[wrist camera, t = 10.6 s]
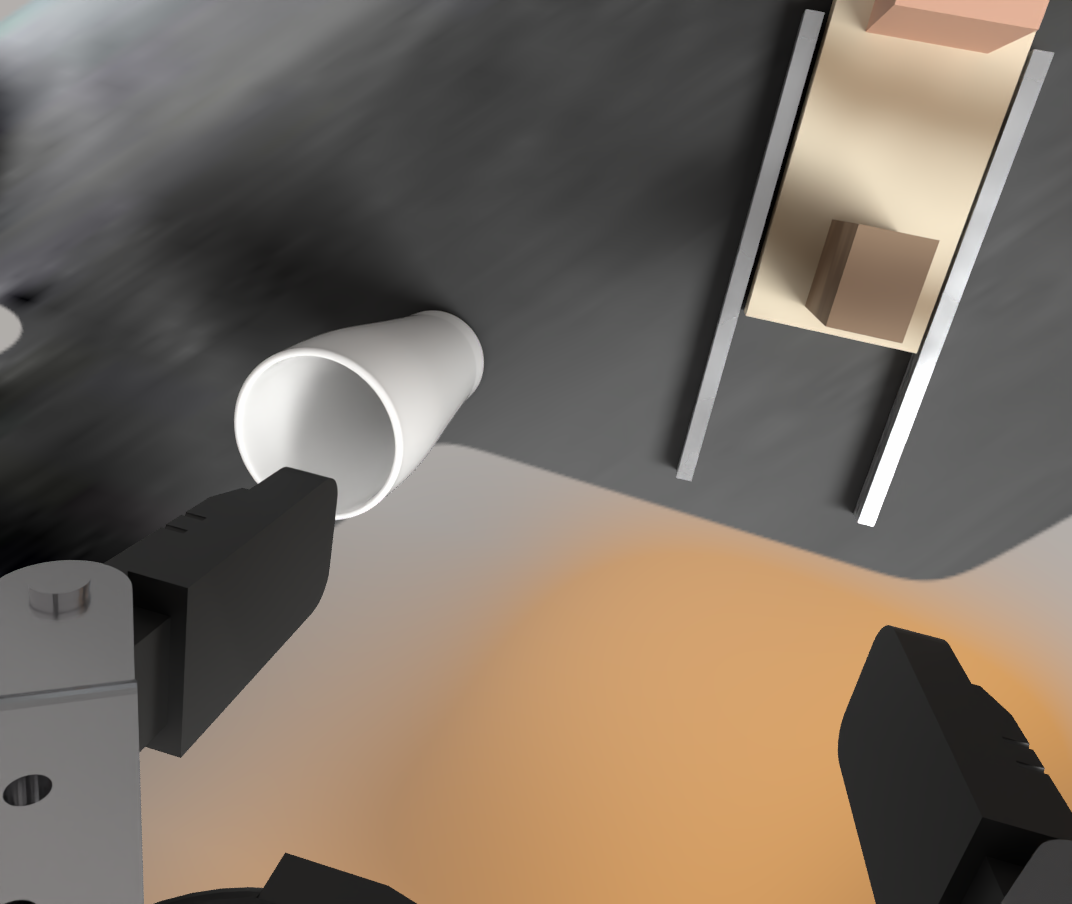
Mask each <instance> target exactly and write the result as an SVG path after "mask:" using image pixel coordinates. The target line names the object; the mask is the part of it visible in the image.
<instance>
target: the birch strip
mask: <svg viewBox="0 0 1072 904" xmlns="http://www.w3.org/2000/svg"><path fill="white" fill-rule="evenodd" d="M874 2H875V0H833V2H832V6H831V9H830V13H829V16H828V20H827V23H826V27H825V30H824V34H823V37H822V41H821V44H820V48H819V51H818V55H817V58H816V62H815V65H814V68H813V72H812V75H811V79H810V82H809V86H808V89H807V93H806V96H805V100H804V103H803V107H802V110H801V114H800V117H799V121H798V124H797V128H796V131H795V135H794V138H793V142H792V145H791V149H790V152H789V156H788V159H787V163H786V166H785V170H784V173H783V177H782V180H781V184H780V187H779V191H778V194H777V198H776V201H775V205H774V208H773V212H772V215H771V219H770V222H769V225H768V229H767V232H766V236H765V239H764V243H763V246H762V250H761V253H760V257H759V260H758V264H757V267H756V271H755V274H754V278H753V281H752V285H751V288H750V292H749V295H748V299H747V302H746V306H745V309H744V312H745V315H746V316H750V317H755V318H759V319H764V320H768V321H773V322H777V323H782V324H786V325H791V326H795V327H800V328H804V329H809V330H813V331H818V332H822V333H827V334H831V335H836V336H840V337H845V338H849V339H854V340H858V341H863V342H867V343H872V344H876V345H881V346H885V347H890V348H894V349H899V350H903V351H908V352H912V353H917V351H918V348H919V346H920V343H921V340H922V338H923V335H924V332H925V330H926V327H927V324H928V321H929V319H930V316H931V313H932V311H933V308H934V305H935V303H936V300H937V297H938V295H939V292H940V289H941V286H942V284H943V281H944V278H945V276H946V273H947V270H948V268H949V265H950V262H951V260H952V257H953V254H954V251H955V249H956V246H957V243H958V241H959V238H960V235H961V233H962V230H963V227H964V224H965V222H966V219H967V216H968V214H969V211H970V208H971V206H972V203H973V200H974V198H975V195H976V192H977V189H978V187H979V184H980V181H981V179H982V176H983V173H984V171H985V168H986V165H987V163H988V160H989V157H990V154H991V152H992V149H993V146H994V144H995V141H996V138H997V136H998V133H999V130H1000V127H1001V125H1002V122H1003V119H1004V117H1005V114H1006V111H1007V109H1008V106H1009V103H1010V101H1011V98H1012V95H1013V92H1014V90H1015V87H1016V84H1017V82H1018V79H1019V76H1020V74H1021V71H1022V68H1023V66H1024V63H1025V60H1026V57H1027V55H1028V52H1029V49H1030V47H1031V44H1032V41H1033V39H1034V36H1035V33H1036V31H1035V32H1032V33H1030V34H1028V35H1026V36H1024V37H1022V38H1020V39H1018V40H1016V41H1014V42H1011V43H1009V44H1007V45H1005V46H1003V47H1001V48H999V49H997V50H995V51H993V52H990V53H988V54H986V53H981V52H975V51H970V50H964V49H958V48H953V47H947V46H941V45H936V44H930V43H925V42H919V41H913V40H908V39H902V38H896V37H891V36H885V35H880V34H874V33H868V32H866V28H867V25H868V22H869V18H870V15H871V12H872V9H873V5H874Z"/></svg>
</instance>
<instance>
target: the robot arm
mask: <svg viewBox="0 0 1072 904" xmlns="http://www.w3.org/2000/svg"><path fill="white" fill-rule="evenodd" d="M337 497H338V489H337V484H336V481H335V480H334V479H333V478H329V477H325V476H321V475H317V474H314V473H310V472H306V471H302V470H298V469H294V468H291V467H283V468H281V469H279V470H278V471H276V472H275V473H273V474H272V475H270V476H269V477H267V478H266V479H264V480H263V481H261V482H260V483H258V484H257V485H255V486H254V487H252V488H251V489H245V488H241V489H237V490H234V491H230V492H226V493H223V494H219V495H216V496H212V497H209V498H207V499H206V500H204V501H203V502H201V503H200V504H198V505H196V506H195V507H193V508H192V509H190V510H188V511H187V512H186V514H185V516H183V515H180V516H179V517H177V518H176V519H174V520H172V521H171V522H169V523H168V524H166V527H165V528H160V529H158V530H156V531H155V532H153V533H152V534H150V535H149V536H147V537H145V538H144V539H142V540H141V541H139V542H137V543H136V544H134V545H133V546H131V547H129V548H128V549H126V550H125V551H123V552H121V553H120V554H118V555H117V556H115V557H113V558H112V559H110V560H109V561H107V562H105V563H104V564H101V563H97V562H90V561H78V560H67V561H53V562H46V563H40V564H36V565H32V566H28V567H25V568H22V569H19V570H16V571H14V572H11V573H9V574H7V575H5V576H3V577H2V578H0V904H144V895H143V894H144V893H143V861H142V826H141V793H140V761H139V752H140V751H141V750H142V749H143V748H144V747H148V748H151V749H155V750H158V751H161V752H164V753H167V754H170V755H174V756H177V757H180V758H181V757H182V756H183V755H184V754H185V752H186V751H187V750H188V749H189V748H190V747H191V746H192V745H193V744H194V743H195V742H196V740H197V739H198V738H199V737H200V736H201V735H202V734H203V733H204V732H205V730H206V729H207V728H208V727H209V726H210V725H211V724H212V723H213V722H214V721H215V719H216V718H217V717H218V716H219V715H220V714H221V713H222V712H223V711H224V709H225V708H226V707H227V706H228V705H229V704H230V703H231V702H232V700H234V698H235V697H236V696H237V695H238V694H239V693H240V692H241V691H242V690H243V689H244V687H245V686H246V685H247V684H248V683H249V682H250V681H251V680H252V679H253V678H254V676H255V675H256V674H257V673H258V672H259V671H260V670H261V668H262V667H263V666H264V665H265V664H266V663H267V662H268V661H269V660H270V659H271V658H272V656H273V655H274V654H275V653H276V652H277V651H278V650H279V649H280V648H281V647H282V646H283V644H284V643H285V642H286V641H287V640H288V639H289V638H290V637H291V636H292V634H293V633H294V632H295V631H296V630H297V629H298V628H299V627H300V626H301V625H302V623H303V622H304V621H305V620H306V619H307V618H308V617H309V616H310V615H311V614H312V612H313V611H314V609H315V608H316V607H317V605H318V603H319V601H320V599H321V597H322V595H323V592H324V589H325V586H326V583H327V580H328V575H329V567H330V559H331V550H332V540H333V532H334V524H335V515H336V507H337ZM838 758H839V764H840V768H841V772H842V776H843V779H844V784H845V787H846V791H847V795H848V799H849V802H850V806H851V810H852V814H853V818H854V822H855V825H856V829H857V833H858V837H859V841H860V845H861V849H862V852H863V856H864V860H865V864H866V868H867V871H868V875H869V879H870V883H871V887H872V891H873V894H874V898H875V902H876V904H1072V812H1071V810H1070V809H1069V807H1068V806H1067V804H1066V802H1065V801H1064V799H1063V798H1062V796H1061V794H1060V793H1059V791H1058V789H1057V788H1056V786H1055V785H1054V783H1053V781H1052V780H1051V778H1050V776H1049V775H1047V774H1044V767H1043V765H1042V763H1041V762H1040V760H1039V759H1038V757H1037V755H1036V754H1035V752H1034V751H1033V750H1031V749H1029V743H1028V741H1027V739H1026V738H1025V736H1024V734H1023V733H1022V731H1021V730H1020V728H1019V727H1018V725H1017V723H1016V721H1015V720H1014V718H1013V717H1012V715H1011V714H1010V713H1009V712H1008V711H1007V710H1006V709H1004V708H1003V707H1002V706H1001V705H1000V704H999V703H998V702H997V701H996V700H995V699H994V698H993V697H991V696H990V695H989V694H988V693H987V692H986V691H985V690H984V689H983V688H982V687H981V686H977V685H974V684H971V682H970V680H969V679H968V677H967V675H966V673H965V672H964V670H963V668H962V666H961V665H960V663H959V661H958V659H957V658H956V656H955V654H954V653H953V651H952V649H951V647H950V646H949V644H948V643H947V642H946V641H945V640H943V639H939V638H935V637H932V636H928V635H924V634H920V633H916V632H912V631H909V630H905V629H901V628H897V627H893V626H889V625H887V626H885V627H883V628H882V629H881V630H880V632H879V633H878V634H877V636H876V638H875V640H874V642H873V645H872V647H871V650H870V652H869V655H868V657H867V660H866V662H865V664H864V667H863V669H862V672H861V674H860V677H859V679H858V682H857V684H856V687H855V689H854V692H853V694H852V696H851V699H850V701H849V704H848V706H847V709H846V712H845V714H844V717H843V720H842V723H841V727H840V733H839V740H838ZM155 904H416V903H415V902H413V901H412V900H410V899H408V898H407V897H405V896H404V895H402V894H400V893H399V892H397V891H395V890H394V889H392V888H391V887H389V886H387V885H384V884H381V883H377V882H375V881H371V880H368V879H365V878H362V877H359V876H356V875H353V874H350V873H347V872H343V871H340V870H337V869H334V868H331V867H328V866H325V865H322V864H319V863H316V862H312V861H309V860H306V859H303V858H300V857H297V856H294V855H290V854H288V853H285V854H284V856H283V857H282V859H281V860H280V862H279V864H278V865H277V867H276V869H275V870H274V872H273V873H272V875H271V877H270V878H269V880H268V881H267V883H266V885H265V886H264V888H253V887H247V888H225V889H216V890H209V891H203V892H196V893H190V894H187V895H183V896H179V897H175V898H171V899H167V900H164V901H160V902H157V903H155Z"/></svg>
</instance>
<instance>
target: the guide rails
mask: <svg viewBox="0 0 1072 904" xmlns="http://www.w3.org/2000/svg"><path fill="white" fill-rule="evenodd" d="M824 13H825V12H820V11H814V10H809V9H806V10H805V11H804V13H803V15H802V18H801V21H800V25H799V28H798V32H797V36H796V39H795V43H794V47H793V50H792V54H791V57H790V61H789V65H788V68H787V72H786V76H785V79H784V83H783V86H782V90H781V94H780V97H779V101H778V105H777V108H776V112H775V115H774V119H773V123H772V126H771V130H770V134H769V137H768V141H767V144H766V148H765V152H764V155H763V159H762V163H761V166H760V170H759V173H758V177H757V181H756V184H755V188H754V191H753V195H752V199H751V202H750V206H749V210H748V213H747V217H746V220H745V224H744V228H743V231H742V235H741V239H740V242H739V246H738V249H737V253H736V257H735V260H734V264H733V268H732V271H731V275H730V278H729V282H728V286H727V289H726V293H725V297H724V300H723V304H722V307H721V311H720V315H719V318H718V322H717V326H716V329H715V333H714V336H713V340H712V344H711V347H710V351H709V354H708V358H707V362H706V365H705V369H704V373H703V376H702V380H701V383H700V387H699V391H698V394H697V398H696V402H695V405H694V409H693V412H692V416H691V420H690V423H689V427H688V431H687V434H686V438H685V441H684V445H683V449H682V452H681V456H680V460H679V463H678V467H677V472H676V478H679V479H683V480H687V481H692V477H693V474H694V470H695V467H696V463H697V460H698V456H699V452H700V449H701V445H702V442H703V438H704V435H705V431H706V428H707V424H708V421H709V417H710V414H711V410H712V407H713V403H714V400H715V396H716V393H717V389H718V386H719V382H720V379H721V375H722V372H723V368H724V365H725V361H726V358H727V354H728V351H729V347H730V344H731V340H732V337H733V333H734V330H735V326H736V323H737V319H738V316H739V312H740V308H741V305H742V301H743V298H744V294H745V291H746V287H747V284H748V280H749V277H750V273H751V270H752V266H753V263H754V259H755V256H756V252H757V249H758V245H759V242H760V238H761V235H762V231H763V228H764V224H765V221H766V217H767V214H768V210H769V207H770V203H771V200H772V196H773V193H774V189H775V186H776V182H777V179H778V175H779V172H780V168H781V164H782V161H783V157H784V154H785V150H786V147H787V143H788V140H789V136H790V133H791V129H792V126H793V122H794V119H795V115H796V112H797V108H798V105H799V101H800V98H801V94H802V91H803V87H804V84H805V80H806V77H807V73H808V70H809V66H810V63H811V59H812V56H813V52H814V49H815V45H816V42H817V38H818V35H819V31H820V28H821V24H822V21H823V17H824ZM1053 55H1054V53H1053V52H1047V51H1041V50H1036V49H1034V50H1031V51H1029V52H1028V55H1027V57H1026V60H1025V63H1024V66H1023V68H1022V71H1021V74H1020V76H1019V79H1018V82H1017V84H1016V87H1015V90H1014V92H1013V95H1012V98H1011V101H1010V103H1009V106H1008V109H1007V111H1006V114H1005V117H1004V119H1003V122H1002V125H1001V127H1000V130H999V133H998V136H997V138H996V141H995V144H994V146H993V149H992V152H991V154H990V157H989V160H988V163H987V165H986V168H985V171H984V173H983V176H982V179H981V181H980V184H979V187H978V189H977V192H976V195H975V198H974V200H973V203H972V206H971V208H970V211H969V214H968V216H967V219H966V222H965V224H964V227H963V230H962V233H961V235H960V238H959V241H958V243H957V246H956V249H955V251H954V254H953V257H952V260H951V262H950V265H949V268H948V270H947V273H946V276H945V278H944V281H943V284H942V286H941V289H940V292H939V295H938V297H937V300H936V303H935V305H934V308H933V311H932V313H931V316H930V319H929V321H928V324H927V327H926V330H925V332H924V335H923V338H922V340H921V343H920V346H919V348H918V351H917V353H912V355H911V358H910V361H909V363H908V366H907V369H906V372H905V374H904V377H903V380H902V382H901V385H900V388H899V391H898V393H897V396H896V399H895V401H894V404H893V407H892V409H891V412H890V415H889V418H888V420H887V423H886V426H885V428H884V431H883V434H882V437H881V439H880V442H879V445H878V447H877V450H876V453H875V456H874V458H873V461H872V464H871V466H870V469H869V472H868V475H867V477H866V480H865V483H864V485H863V488H862V491H861V493H860V496H859V499H858V502H857V504H856V507H855V510H854V512H853V515H854V517H855V519H856V521H857V523H861V524H865V525H869V526H873V527H874V524H875V521H876V519H877V516H878V514H879V511H880V508H881V506H882V503H883V500H884V498H885V495H886V493H887V490H888V487H889V485H890V482H891V480H892V477H893V474H894V472H895V469H896V466H897V464H898V461H899V459H900V456H901V453H902V451H903V448H904V445H905V443H906V440H907V438H908V435H909V432H910V430H911V427H912V424H913V422H914V419H915V417H916V414H917V411H918V409H919V406H920V404H921V401H922V398H923V396H924V393H925V390H926V388H927V385H928V383H929V380H930V377H931V375H932V372H933V369H934V367H935V364H936V362H937V359H938V356H939V354H940V351H941V349H942V346H943V343H944V341H945V338H946V335H947V333H948V330H949V328H950V325H951V322H952V320H953V317H954V314H955V312H956V309H957V307H958V304H959V301H960V299H961V296H962V293H963V291H964V288H965V286H966V283H967V280H968V278H969V275H970V273H971V270H972V267H973V265H974V262H975V259H976V257H977V254H978V252H979V249H980V246H981V244H982V241H983V238H984V236H985V233H986V231H987V228H988V225H989V223H990V220H991V217H992V215H993V212H994V210H995V207H996V204H997V202H998V199H999V197H1000V194H1001V191H1002V189H1003V186H1004V183H1005V181H1006V178H1007V176H1008V173H1009V170H1010V168H1011V165H1012V162H1013V160H1014V157H1015V155H1016V152H1017V149H1018V147H1019V144H1020V142H1021V139H1022V136H1023V134H1024V131H1025V128H1026V126H1027V123H1028V121H1029V118H1030V115H1031V113H1032V110H1033V107H1034V105H1035V102H1036V100H1037V97H1038V94H1039V92H1040V89H1041V86H1042V84H1043V81H1044V79H1045V76H1046V73H1047V71H1048V68H1049V66H1050V63H1051V60H1052V58H1053Z"/></svg>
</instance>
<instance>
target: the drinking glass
mask: <svg viewBox="0 0 1072 904" xmlns="http://www.w3.org/2000/svg"><path fill="white" fill-rule="evenodd" d="M483 369H484V357H483V351H482V347H481V344H480V342H479V340H478V338H477V336H476V334H475V333H474V332H473V330H472V329H471V328H470V327H469V326H468V325H467V324H466V323H465V322H464V321H462V320H461V319H460V318H458V317H456V316H454V315H452V314H450V313H447V312H443V311H436V310H429V311H422V312H418V313H415V314H413V315H410V316H408V317H403V318H397V319H392V320H387V321H381V322H375V323H369V324H363V325H357V326H352V327H346V328H341V329H337V330H333V331H330V332H326V333H323V334H320V335H317V336H314V337H312V338H309V339H307V340H304V341H302V342H299V343H297V344H295V345H293V346H291V347H289V348H287V349H285V350H283V351H281V352H279V353H277V354H274V355H272V356H271V357H269V358H267V359H266V360H264V361H263V362H261V363H260V364H259V365H258V366H257V367H256V368H255V369H254V370H253V371H252V372H251V373H250V375H249V376H248V377H247V379H246V380H245V382H244V384H243V386H242V388H241V390H240V392H239V395H238V398H237V402H236V407H235V414H234V429H235V437H236V442H237V446H238V449H239V452H240V455H241V457H242V460H243V462H244V464H245V466H246V468H247V469H248V471H249V473H250V474H251V476H252V477H253V478H254V480H255V481H256V482H257V484H258V483H260V482H261V481H263V480H264V479H266V478H267V477H269V476H270V475H272V474H273V473H275V472H276V471H278V470H279V469H281V468H283V467H291V468H294V469H298V470H302V471H306V472H310V473H314V474H317V475H321V476H325V477H329V478H333V479H334V480H335V481H336V484H337V489H338V497H337V507H336V515H335V520H338V519H345V518H350V517H354V516H357V515H359V514H362V513H364V512H366V511H367V510H369V509H371V508H373V507H374V506H375V505H376V504H378V503H379V502H380V501H381V500H382V499H384V498H385V497H386V496H388V495H389V494H390V493H391V492H392V491H394V490H395V488H397V487H398V486H399V485H400V484H401V483H402V482H403V481H405V480H406V479H407V478H408V477H409V476H410V474H412V472H413V471H415V469H416V468H417V467H418V466H419V465H420V464H421V462H422V461H423V460H424V459H425V457H426V456H427V455H428V454H429V452H430V451H431V449H432V448H433V447H434V445H435V444H436V442H437V441H438V439H439V438H440V436H441V435H442V433H443V432H444V430H445V429H446V427H447V426H448V424H449V423H450V422H451V420H452V419H453V417H454V416H455V414H456V413H457V412H458V410H459V409H460V407H461V406H462V405H463V403H464V402H465V401H466V400H467V399H468V398H469V397H470V396H471V395H472V394H473V393H474V391H475V390H476V388H477V387H478V385H479V383H480V380H481V378H482V374H483Z"/></svg>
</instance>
